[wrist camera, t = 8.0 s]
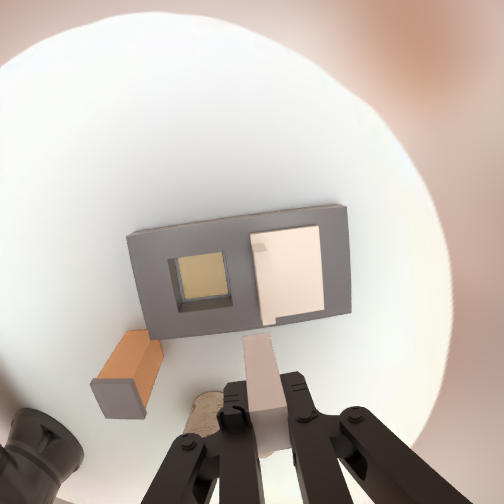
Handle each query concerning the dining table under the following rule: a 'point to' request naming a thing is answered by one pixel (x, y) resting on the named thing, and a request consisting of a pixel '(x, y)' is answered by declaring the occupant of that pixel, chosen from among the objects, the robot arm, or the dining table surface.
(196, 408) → the mug
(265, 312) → the panel
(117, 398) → the plug
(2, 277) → the dining table surface
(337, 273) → the socket
